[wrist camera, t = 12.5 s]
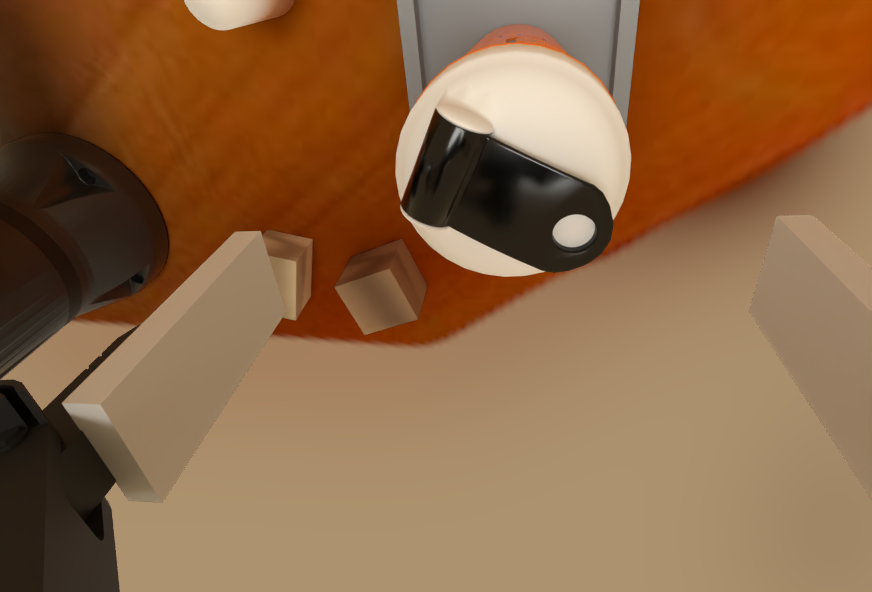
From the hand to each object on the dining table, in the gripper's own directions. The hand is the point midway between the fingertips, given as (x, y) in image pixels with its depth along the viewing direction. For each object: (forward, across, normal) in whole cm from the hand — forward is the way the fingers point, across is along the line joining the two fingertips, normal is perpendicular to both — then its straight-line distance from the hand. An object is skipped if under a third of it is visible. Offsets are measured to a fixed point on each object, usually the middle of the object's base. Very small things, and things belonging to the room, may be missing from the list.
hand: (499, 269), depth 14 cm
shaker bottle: (+24, 0, 0) cm, 25 cm away
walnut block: (+26, -11, -15) cm, 31 cm away
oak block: (+26, -20, -14) cm, 35 cm away
